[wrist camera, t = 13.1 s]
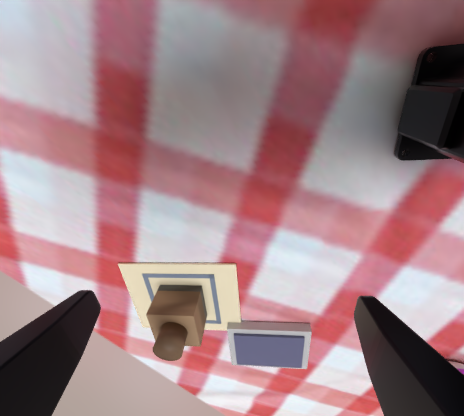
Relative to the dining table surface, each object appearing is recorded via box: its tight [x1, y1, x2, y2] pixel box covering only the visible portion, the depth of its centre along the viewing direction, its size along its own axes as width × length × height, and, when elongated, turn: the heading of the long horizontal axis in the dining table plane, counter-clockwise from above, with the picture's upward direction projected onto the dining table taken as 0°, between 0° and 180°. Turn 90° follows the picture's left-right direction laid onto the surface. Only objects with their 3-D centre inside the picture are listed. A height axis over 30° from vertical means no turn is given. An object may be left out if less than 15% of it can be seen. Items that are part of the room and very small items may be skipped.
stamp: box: [146, 285, 207, 361], centre depth 23 cm, size 4×4×6 cm
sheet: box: [118, 263, 241, 331], centre depth 26 cm, size 12×10×1 cm
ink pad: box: [227, 321, 312, 369], centre depth 28 cm, size 9×7×1 cm
